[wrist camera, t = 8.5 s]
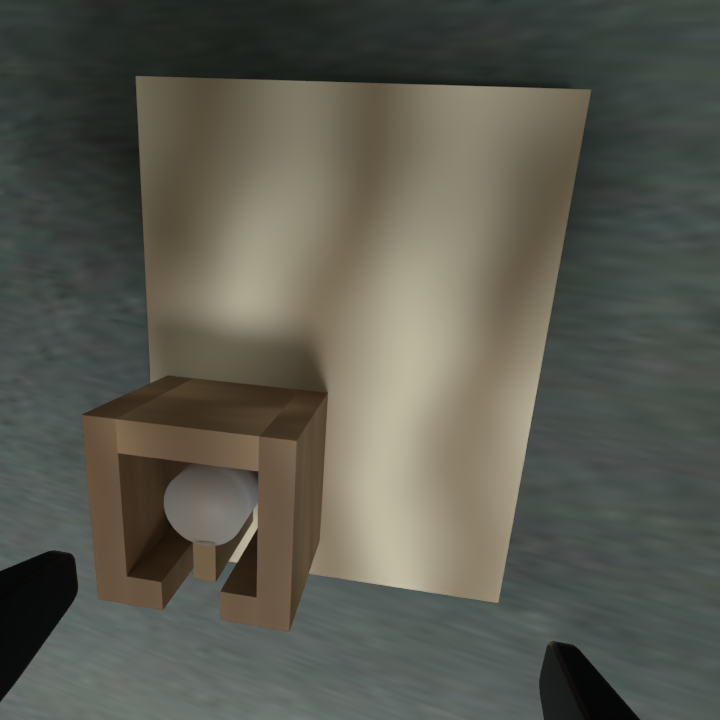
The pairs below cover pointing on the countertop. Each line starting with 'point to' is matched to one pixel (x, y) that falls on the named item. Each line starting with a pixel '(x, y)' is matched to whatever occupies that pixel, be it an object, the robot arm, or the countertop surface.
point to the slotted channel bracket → (210, 447)
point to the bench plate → (362, 301)
